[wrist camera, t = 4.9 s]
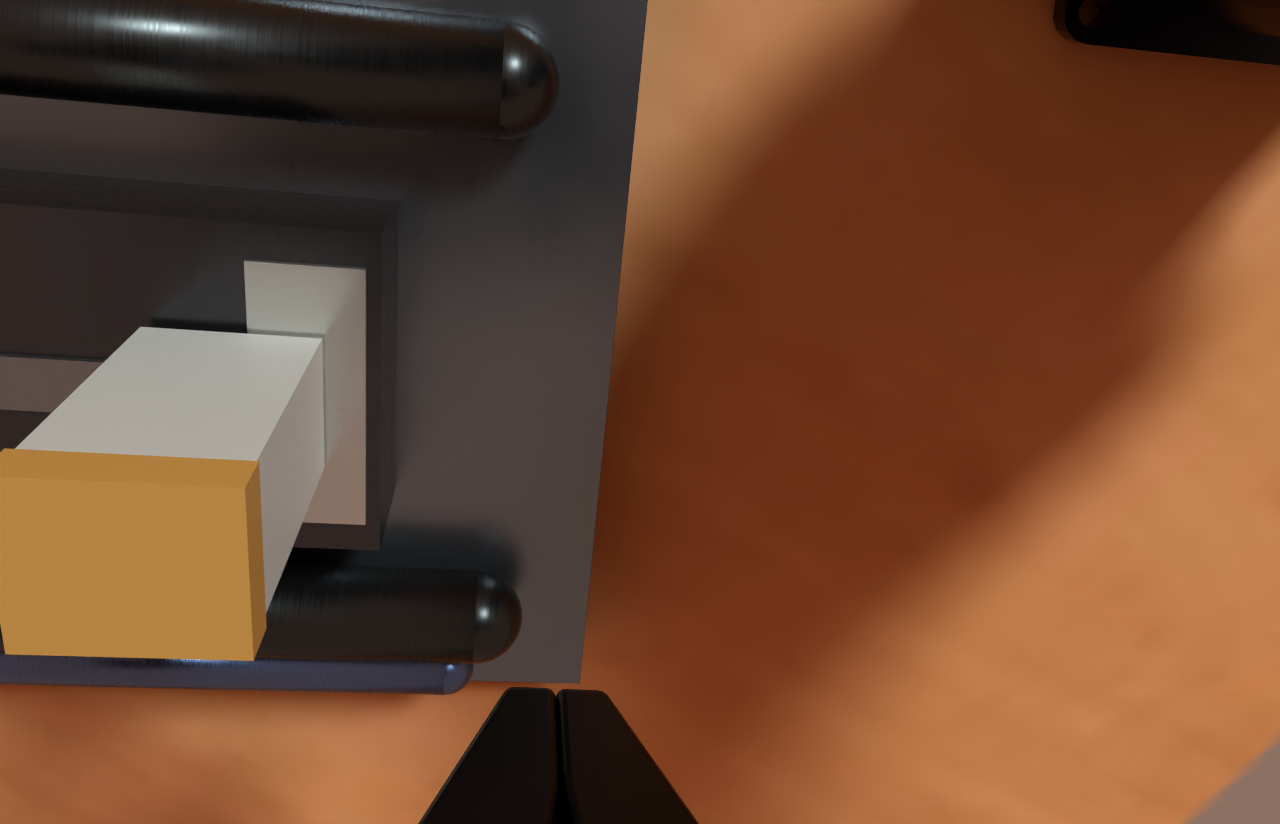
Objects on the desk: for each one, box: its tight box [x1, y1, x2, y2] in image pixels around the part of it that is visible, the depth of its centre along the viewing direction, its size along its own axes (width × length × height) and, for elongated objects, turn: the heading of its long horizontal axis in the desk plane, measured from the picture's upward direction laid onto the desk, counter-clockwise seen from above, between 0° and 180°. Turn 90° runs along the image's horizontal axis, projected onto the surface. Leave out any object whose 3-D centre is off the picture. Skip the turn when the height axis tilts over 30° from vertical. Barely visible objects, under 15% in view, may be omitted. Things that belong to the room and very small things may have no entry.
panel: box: [0, 0, 648, 695], centre depth 16 cm, size 18×13×4 cm
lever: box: [0, 327, 324, 661], centre depth 13 cm, size 2×2×4 cm
